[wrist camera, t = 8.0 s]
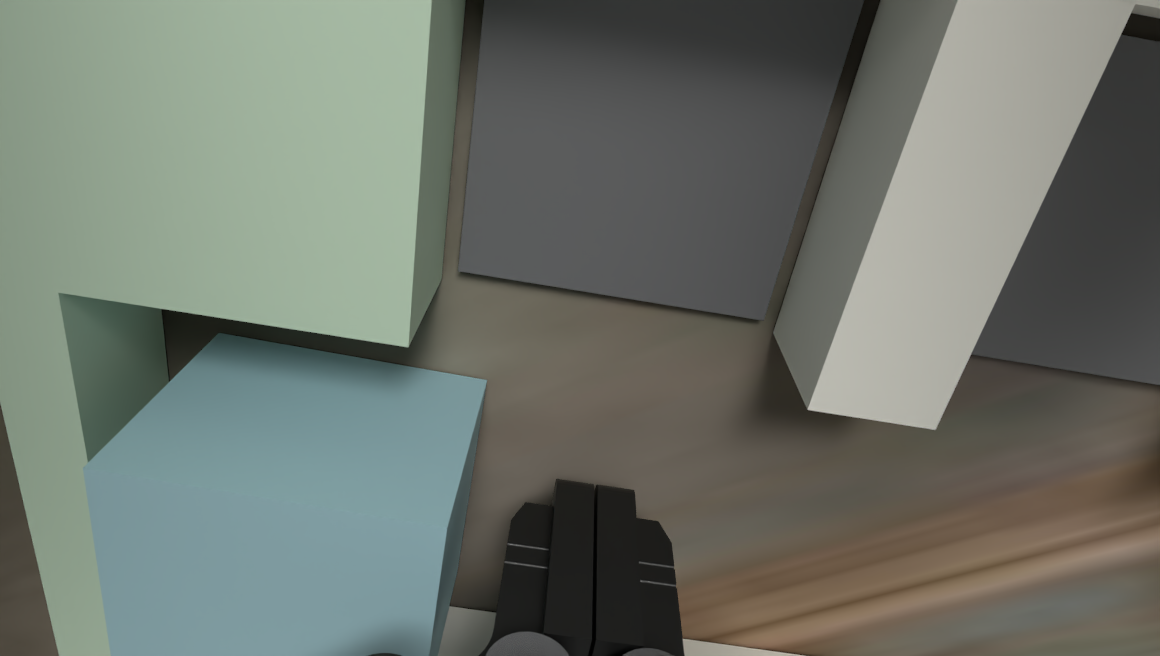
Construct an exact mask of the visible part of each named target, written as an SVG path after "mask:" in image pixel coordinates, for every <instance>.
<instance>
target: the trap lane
mask: <svg viewBox="0 0 1160 656" xmlns="http://www.w3.org/2000/svg"><path fill="white" fill-rule="evenodd" d="M863 2H864V0H484V9H483V20H482V30H481V40H480V51H479V61H478V71H477V81H476V92H475V102H474V112H473V123H472V133H471V143H470V153H469V164H468V174H467V184H466V195H465V205H464V215H463V226H462V236H461V246H460V256H459V267H458V271H461V272H467V273H473V274H479V275H485V276H491V277H498V278H504V279H510V280H516V281H522V282H528V283H534V284H541V285H547V286H553V287H559V288H565V289H571V290H578V291H584V292H590V293H596V294H602V295H608V296H615V297H621V298H627V299H633V300H639V301H645V302H651V303H658V304H664V305H670V306H676V307H682V308H688V309H695V310H701V311H707V312H713V313H719V314H725V315H732V316H738V317H744V318H750V319H756V320H762V321H764V318H765V315H766V311H767V308H768V305H769V302H770V299H771V295H772V292H773V289H774V286H775V283H776V279H777V276H778V273H779V270H780V267H781V264H782V260H783V257H784V254H785V251H786V248H787V244H788V241H789V238H790V235H791V232H792V228H793V225H794V222H795V219H796V216H797V213H798V209H799V206H800V203H801V200H802V197H803V193H804V190H805V187H806V184H807V181H808V177H809V174H810V171H811V168H812V165H813V162H814V158H815V155H816V152H817V149H818V146H819V142H820V139H821V136H822V133H823V130H824V126H825V123H826V120H827V117H828V114H829V110H830V107H831V104H832V101H833V98H834V95H835V91H836V88H837V85H838V82H839V79H840V75H841V72H842V69H843V66H844V63H845V59H846V56H847V53H848V50H849V47H850V44H851V40H852V37H853V34H854V31H855V28H856V24H857V21H858V18H859V15H860V12H861V8H862V5H863ZM465 3H466V0H0V404H1V408H2V412H3V417H4V421H5V425H6V430H7V434H8V438H9V442H10V447H11V451H12V455H13V460H14V464H15V468H16V473H17V477H18V481H19V486H20V490H21V494H22V498H23V503H24V507H25V511H26V516H27V520H28V524H29V529H30V533H31V537H32V542H33V546H34V550H35V554H36V559H37V563H38V567H39V572H40V576H41V580H42V585H43V589H44V593H45V598H46V602H47V606H48V610H49V615H50V619H51V623H52V628H53V632H54V636H55V641H56V645H57V649H58V654H59V656H111V654H110V647H109V640H108V634H107V627H106V620H105V614H104V607H103V600H102V594H101V587H100V580H99V573H98V567H97V560H96V553H95V547H94V540H93V533H92V527H91V520H90V513H89V506H88V500H87V493H86V486H85V480H84V473H83V467H84V466H85V465H86V464H87V463H88V462H89V461H90V460H91V459H92V458H93V457H94V456H95V455H96V454H97V453H98V452H99V451H100V450H101V449H102V448H103V447H104V446H106V445H107V444H108V443H109V442H110V441H111V440H112V439H113V438H114V437H115V436H116V435H117V434H118V433H119V432H120V431H121V430H122V429H123V428H124V427H125V426H126V425H127V424H128V423H129V422H130V421H131V420H132V419H133V418H134V417H135V416H136V415H137V414H138V413H139V412H140V411H141V410H142V409H143V408H144V407H145V406H146V405H147V404H148V403H149V402H150V401H151V400H152V399H153V398H154V397H155V396H156V395H157V394H158V393H159V392H160V391H161V390H162V389H163V388H164V387H165V386H166V385H167V384H168V383H169V377H168V368H167V358H166V349H165V339H164V330H163V320H162V311H161V309H166V310H173V311H179V312H185V313H192V314H198V315H205V316H211V317H217V318H224V319H230V320H237V321H243V322H249V323H256V324H262V325H268V326H275V327H281V328H288V329H294V330H300V331H307V332H313V333H320V334H326V335H332V336H339V337H345V338H352V339H358V340H364V341H371V342H377V343H383V344H390V345H396V346H403V347H409V345H410V343H411V341H412V339H413V337H414V335H415V333H416V331H417V329H418V327H419V325H420V323H421V321H422V319H423V317H424V314H425V312H426V310H427V308H428V306H429V304H430V302H431V300H432V298H433V296H434V294H435V292H436V290H437V288H438V286H439V284H440V282H441V280H442V269H443V257H444V246H445V234H446V223H447V211H448V200H449V188H450V177H451V165H452V153H453V142H454V130H455V119H456V107H457V96H458V84H459V73H460V61H461V49H462V38H463V26H464V15H465ZM1131 13H1133V14H1139V15H1144V16H1149V17H1154V18H1160V0H880V3H879V6H878V10H877V13H876V16H875V19H874V22H873V25H872V28H871V31H870V34H869V37H868V41H867V44H866V47H865V50H864V53H863V56H862V59H861V62H860V65H859V68H858V71H857V75H856V78H855V81H854V84H853V87H852V90H851V93H850V96H849V99H848V102H847V106H846V109H845V112H844V115H843V118H842V121H841V124H840V127H839V130H838V133H837V136H836V140H835V143H834V146H833V149H832V152H831V155H830V158H829V161H828V164H827V167H826V171H825V174H824V177H823V180H822V183H821V186H820V189H819V192H818V195H817V198H816V201H815V205H814V208H813V211H812V214H811V217H810V220H809V223H808V226H807V229H806V232H805V236H804V239H803V242H802V245H801V248H800V251H799V254H798V257H797V260H796V263H795V266H794V270H793V273H792V276H791V279H790V282H789V285H788V288H787V291H786V294H785V297H784V301H783V304H782V307H781V310H780V313H779V316H778V319H777V322H776V325H775V328H774V332H773V334H774V336H775V339H776V341H777V343H778V345H779V348H780V350H781V352H782V354H783V357H784V359H785V361H786V363H787V365H788V368H789V370H790V372H791V374H792V377H793V379H794V381H795V383H796V386H797V388H798V390H799V392H800V394H801V397H802V399H803V401H804V403H805V406H806V408H807V410H811V411H818V412H824V413H831V414H837V415H843V416H850V417H856V418H863V419H869V420H875V421H882V422H888V423H894V424H901V425H907V426H914V427H920V428H926V429H933V430H936V428H937V426H938V424H939V421H940V419H941V417H942V415H943V413H944V411H945V409H946V406H947V404H948V402H949V400H950V398H951V396H952V394H953V392H954V389H955V387H956V385H957V383H958V381H959V379H960V377H961V375H962V372H963V370H964V368H965V366H966V364H967V362H968V360H969V357H970V355H971V354H972V355H978V356H984V357H990V358H996V359H1002V360H1009V361H1015V362H1021V363H1027V364H1033V365H1039V366H1046V367H1052V368H1058V369H1064V370H1070V371H1076V372H1083V373H1089V374H1095V375H1101V376H1107V377H1113V378H1119V379H1126V380H1132V381H1138V382H1144V383H1150V384H1156V385H1160V42H1158V41H1152V40H1147V39H1142V38H1136V37H1131V36H1126V35H1121V34H1122V32H1123V29H1124V27H1125V25H1126V23H1127V21H1128V19H1129V17H1130V14H1131ZM495 617H496V613H495V612H487V611H480V610H473V609H466V608H459V607H451V606H449V610H448V614H447V618H446V622H445V627H444V631H443V635H442V640H441V644H440V648H439V652H438V656H478V655H480V653H481V652H482V651H483V650H484V649H485V648H486V646H487V645H488V643H489V641H490V639H491V637H492V634H493V630H494V624H495ZM683 647H684V655H685V656H804V655H797V654H790V653H782V652H775V651H768V650H761V649H754V648H746V647H739V646H732V645H725V644H718V643H710V642H703V641H696V640H689V639H683Z"/></svg>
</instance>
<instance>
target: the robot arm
mask: <svg viewBox="0 0 1160 656" xmlns="http://www.w3.org/2000/svg"><path fill="white" fill-rule="evenodd" d="M368 656H402V655H398V654H393V653H378V654H372V655H368ZM478 656H685V655H684V647H683V638H682V629H681V621H680V612H679V603H678V595H677V588H676V578H675V570H674V560H673V552H672V543H671V541H670V539H669V538H668V536H667V535H666V533H665V531H664V530H663V528H662V527H661V525H660V523H659V522H658V521H652V520H646V519H639V518H636V503H635V492H634V490H630V489H623V488H616V487H609V486H602V485H596V487H595V490H594V484H588V483H581V482H574V481H567V480H560V479H556V483H555V488H554V493H553V499H552V504H551V506H548V505H541V504H534V503H527V502H525V504H524V505H523V506H522V507H521V508H520V510H519V511H518V512H517V513H516V515H515V516H514V517H513V518H512V520H511V525H510V531H509V537H508V543H507V550H506V556H505V562H504V568H503V574H502V580H501V587H500V593H499V599H498V605H497V611H496V617H495V624H494V630H493V634H492V637H491V639H490V641H489V643H488V645H487V646H486V648H485V649H484V650H483V651H482V652H481V653H480V655H478Z"/></svg>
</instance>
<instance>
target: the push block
mask: <svg viewBox="0 0 1160 656" xmlns="http://www.w3.org/2000/svg"><path fill="white" fill-rule="evenodd" d="M486 384H487V380H483V379H478V378H472V377H466V376H461V375H455V374H449V373H444V372H438V371H432V370H427V369H421V368H415V367H410V366H404V365H398V364H393V363H387V362H381V361H376V360H370V359H364V358H359V357H353V356H347V355H342V354H336V353H330V352H325V351H319V350H313V349H308V348H302V347H296V346H291V345H285V344H279V343H274V342H268V341H263V340H257V339H251V338H246V337H240V336H234V335H229V334H223V333H218V334H217V335H216V336H215V337H214V338H213V339H212V340H211V341H210V342H209V343H208V344H207V345H206V346H205V347H204V348H203V349H202V350H201V351H200V352H199V353H198V354H197V355H196V356H195V357H194V358H193V359H192V360H191V361H190V362H189V363H188V364H187V365H186V366H185V367H184V368H183V369H182V370H181V371H180V372H179V373H178V374H177V375H176V376H175V377H174V378H173V379H172V380H171V381H170V382H169V383H168V384H167V385H166V386H165V387H164V388H163V389H162V390H161V391H160V392H159V393H158V394H157V395H156V396H155V397H154V398H153V399H152V400H151V401H150V402H149V403H148V404H147V405H146V406H145V407H144V408H143V409H142V410H141V411H140V412H139V413H138V414H137V415H136V416H135V417H134V418H133V419H132V420H131V421H130V422H129V423H128V424H127V425H126V426H125V427H124V428H123V429H122V430H121V431H120V432H119V433H118V434H117V435H116V436H115V437H114V438H113V439H112V440H111V441H110V442H109V443H108V444H107V445H106V446H104V447H103V448H102V449H101V450H100V451H99V452H98V453H97V454H96V455H95V456H94V457H93V458H92V459H91V460H90V461H89V462H88V463H87V464H86V465H85V466H84V467H83V473H84V480H85V486H86V493H87V500H88V506H89V513H90V520H91V527H92V533H93V540H94V547H95V553H96V560H97V567H98V573H99V580H100V587H101V594H102V600H103V607H104V614H105V620H106V627H107V634H108V640H109V647H110V654H111V656H368V655H372V654H378V653H393V654H398V655H402V656H438V652H439V648H440V644H441V640H442V635H443V631H444V627H445V622H446V618H447V614H448V610H449V605H450V601H451V597H452V593H453V588H454V584H455V580H456V576H457V571H458V565H459V558H460V552H461V545H462V539H463V532H464V526H465V519H466V513H467V507H468V500H469V494H470V487H471V481H472V474H473V468H474V461H475V455H476V449H477V442H478V436H479V429H480V423H481V416H482V410H483V403H484V397H485V391H486Z"/></svg>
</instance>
